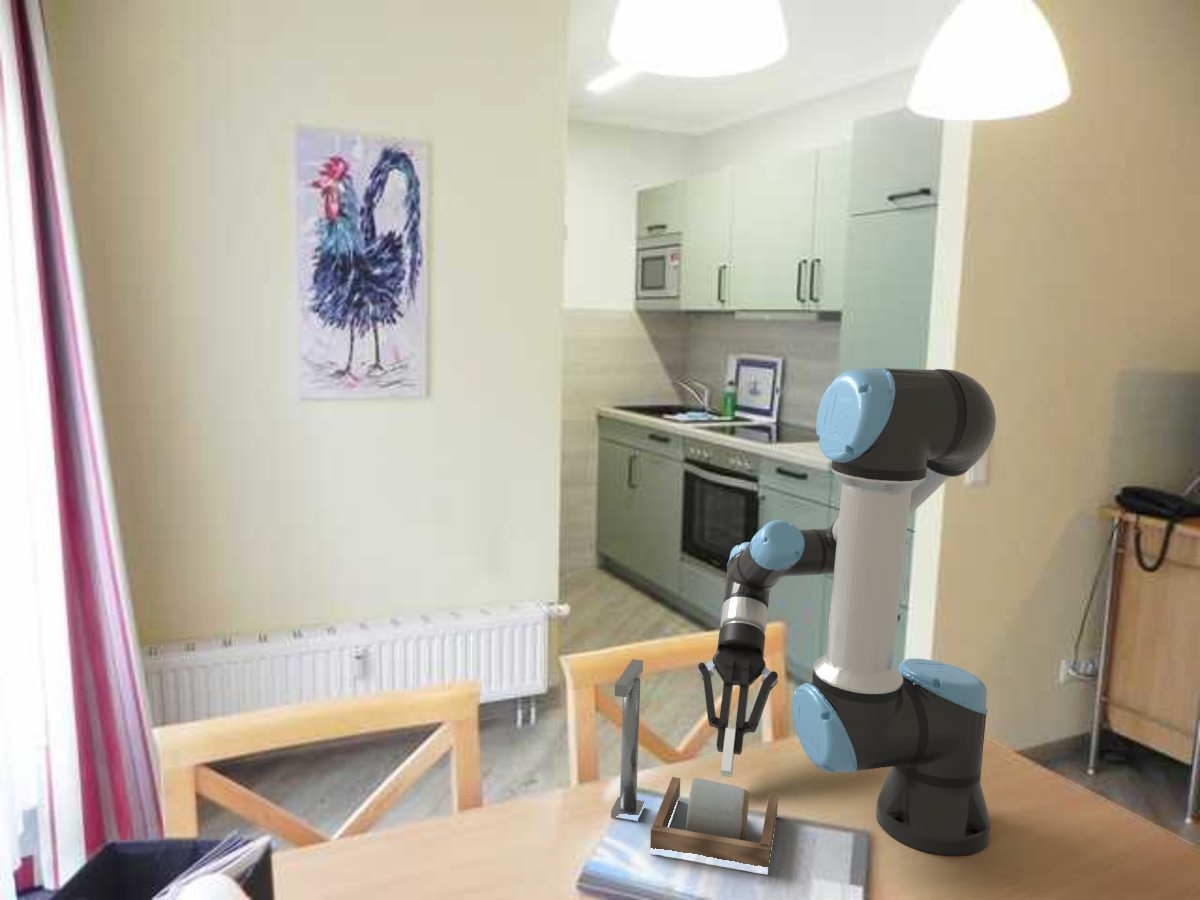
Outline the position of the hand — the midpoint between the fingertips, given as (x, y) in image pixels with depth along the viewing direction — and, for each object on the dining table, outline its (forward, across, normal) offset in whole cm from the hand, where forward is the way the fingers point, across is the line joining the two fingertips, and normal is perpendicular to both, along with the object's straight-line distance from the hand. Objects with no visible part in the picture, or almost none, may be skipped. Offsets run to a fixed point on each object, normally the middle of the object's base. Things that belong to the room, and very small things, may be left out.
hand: (726, 773), depth 132 cm
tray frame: (+10, 0, +6) cm, 12 cm away
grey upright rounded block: (+10, 0, +5) cm, 11 cm away
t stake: (+10, +13, +5) cm, 17 cm away
